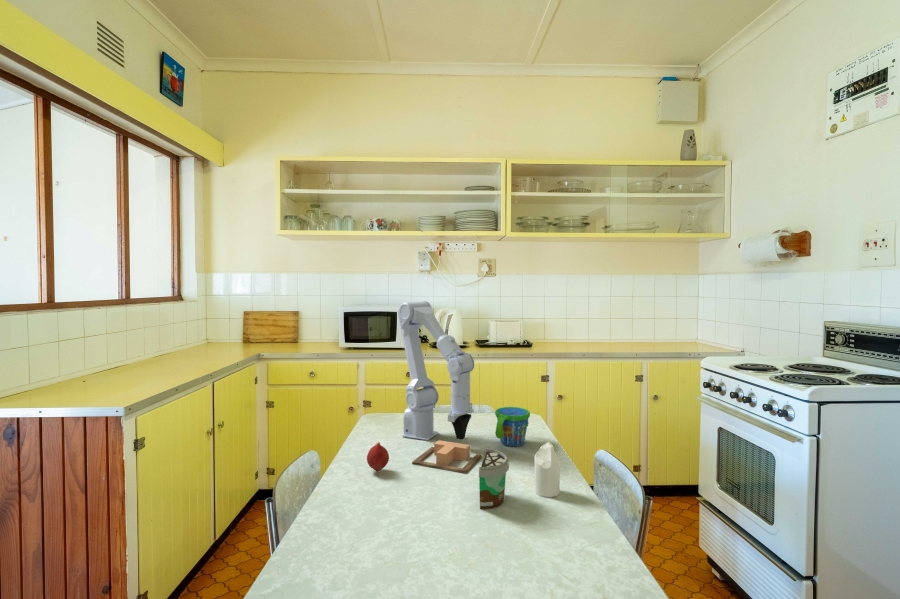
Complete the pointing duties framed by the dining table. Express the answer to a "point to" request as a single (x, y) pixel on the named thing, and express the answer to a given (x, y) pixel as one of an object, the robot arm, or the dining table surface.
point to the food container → (492, 479)
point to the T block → (450, 452)
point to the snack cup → (512, 425)
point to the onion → (377, 457)
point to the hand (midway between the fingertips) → (460, 438)
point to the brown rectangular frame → (445, 467)
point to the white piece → (547, 471)
